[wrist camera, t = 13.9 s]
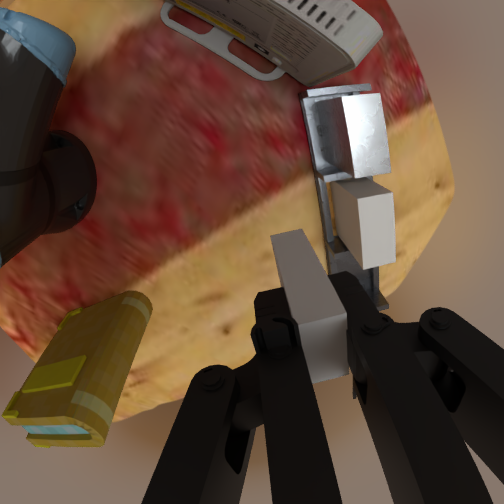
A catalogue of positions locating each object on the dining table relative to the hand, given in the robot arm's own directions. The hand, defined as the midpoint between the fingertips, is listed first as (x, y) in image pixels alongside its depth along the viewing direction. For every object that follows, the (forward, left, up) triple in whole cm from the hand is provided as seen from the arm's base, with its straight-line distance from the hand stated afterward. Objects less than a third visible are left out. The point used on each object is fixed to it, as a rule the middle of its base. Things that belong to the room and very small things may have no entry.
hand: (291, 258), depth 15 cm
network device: (0, +20, -27) cm, 33 cm away
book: (-30, -17, -27) cm, 43 cm away
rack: (+10, -7, -27) cm, 29 cm away
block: (+10, -7, -26) cm, 29 cm away
